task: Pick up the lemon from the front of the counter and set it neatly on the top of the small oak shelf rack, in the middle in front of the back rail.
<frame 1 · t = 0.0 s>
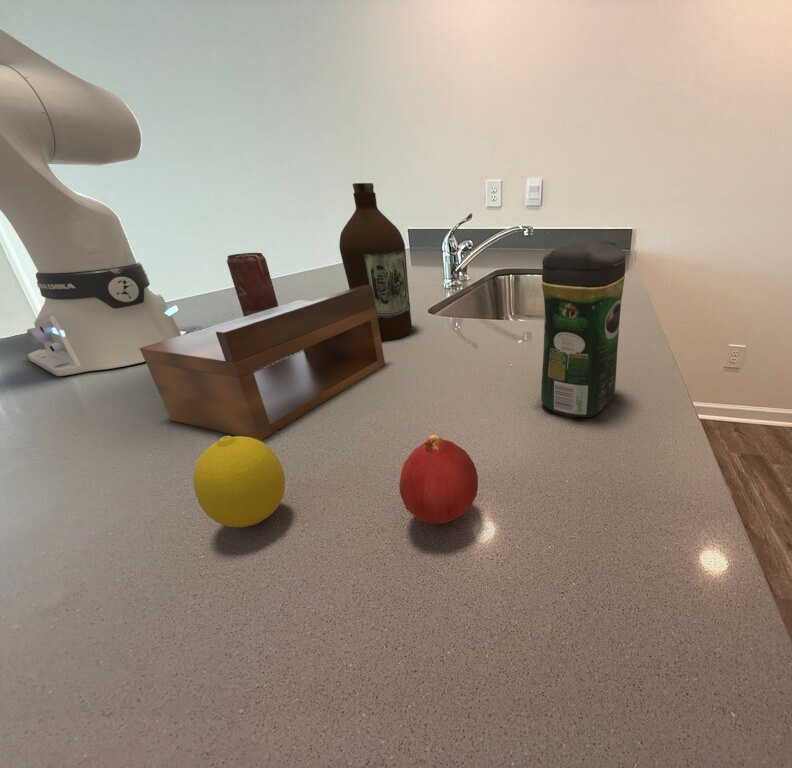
lemon: (258, 524, 32), on the countertop
coffee jar: (577, 402, 50), on the countertop
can: (267, 329, 80), on the countertop
onion: (444, 521, 32), on the countertop
olive oil: (386, 334, 76), on the countertop
shelf: (292, 388, 55), on the countertop
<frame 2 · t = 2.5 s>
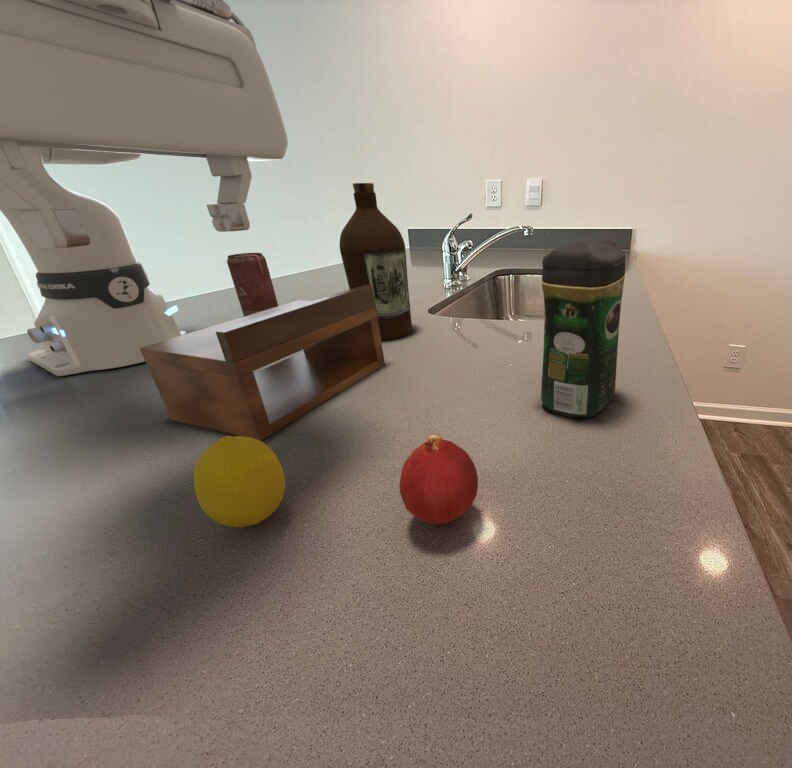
hand: (163, 237, 25), 21 cm above the countertop, tool pointing down, fingers open, 8 cm apart
nothing on the countertop moved.
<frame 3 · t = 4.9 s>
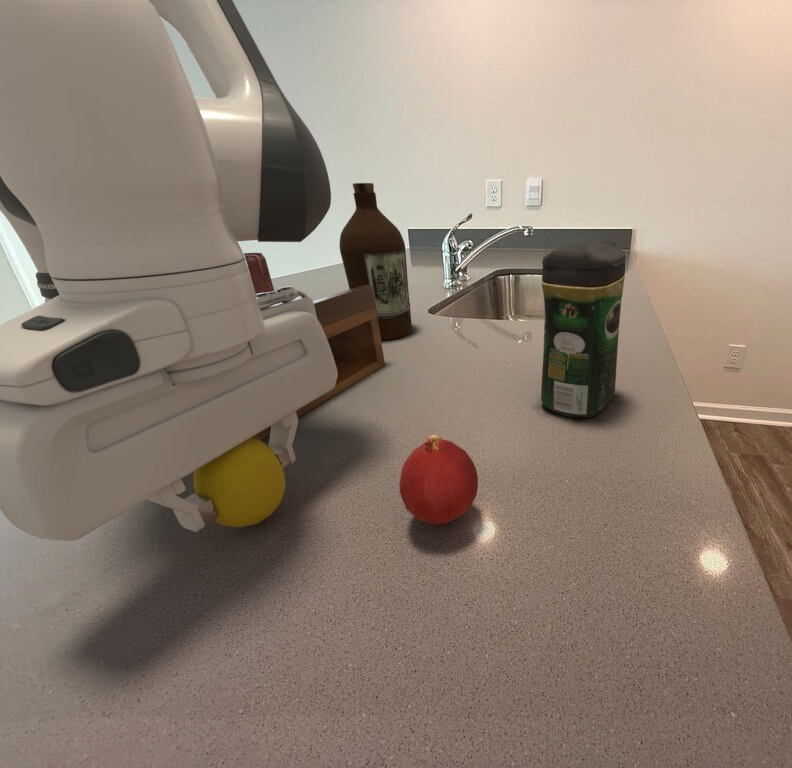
hand: (244, 491, 31), 3 cm above the countertop, tool pointing down, fingers closed on lemon, 5 cm apart
lemon: (258, 524, 32), on the countertop, touching gripper
everything else where it was.
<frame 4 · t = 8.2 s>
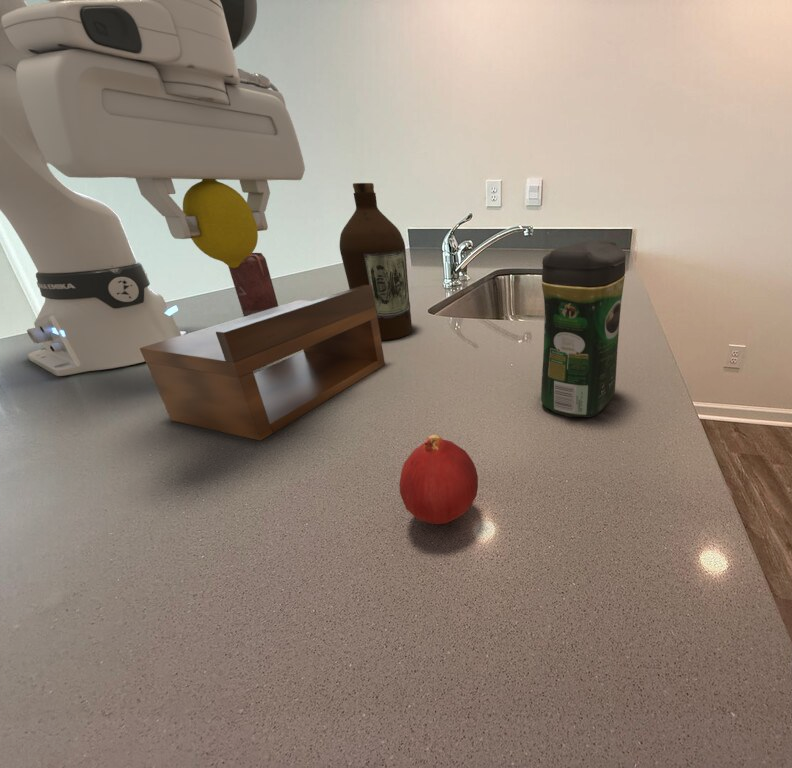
hand: (224, 234, 38), 20 cm above the countertop, tool pointing down, fingers closed on lemon, 5 cm apart
lemon: (235, 270, 40), point 17 cm above the countertop, touching gripper
everything else where it was.
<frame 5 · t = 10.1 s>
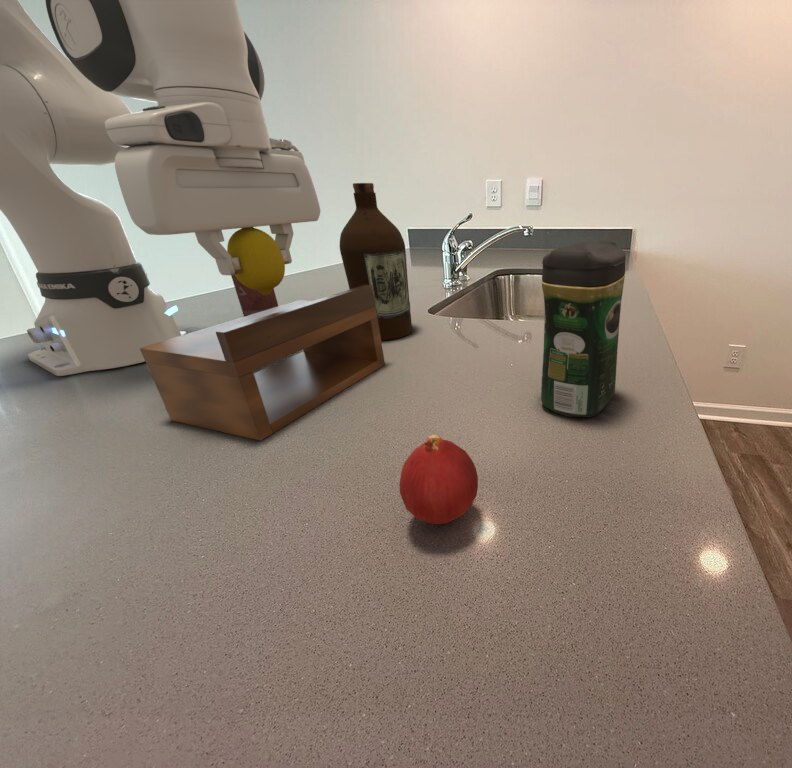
hand: (258, 269, 48), 16 cm above the countertop, tool pointing down, fingers closed on lemon, 5 cm apart
lemon: (267, 296, 49), point 12 cm above the countertop, touching gripper
everything else where it was.
when the fingers open (12 cm above the countertop, at t = 11.6 s): lemon stays where it is, resting on shelf.
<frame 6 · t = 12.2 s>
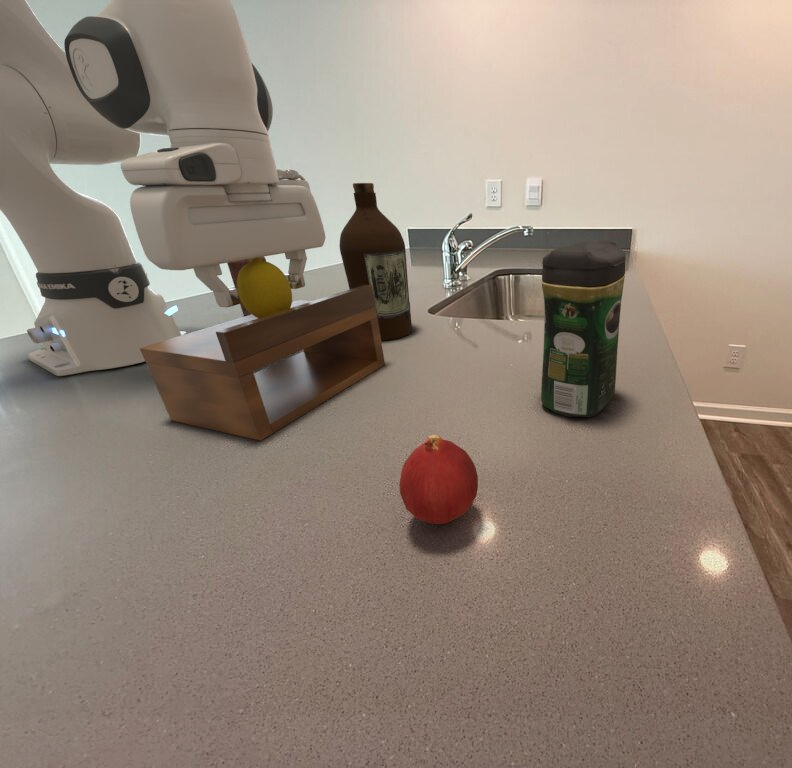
hand: (265, 296, 49), 13 cm above the countertop, tool pointing down, fingers open, 8 cm apart
lemon: (275, 325, 51), point 9 cm above the countertop, touching shelf
everything else where it was.
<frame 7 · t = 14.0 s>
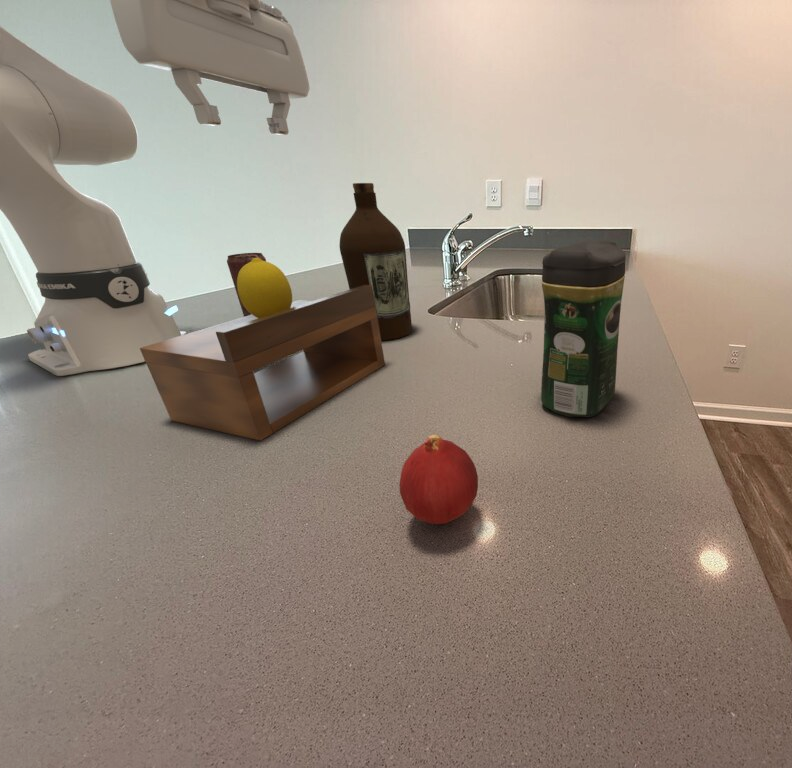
hand: (247, 129, 49), 31 cm above the countertop, tool pointing down, fingers open, 8 cm apart
nothing on the countertop moved.
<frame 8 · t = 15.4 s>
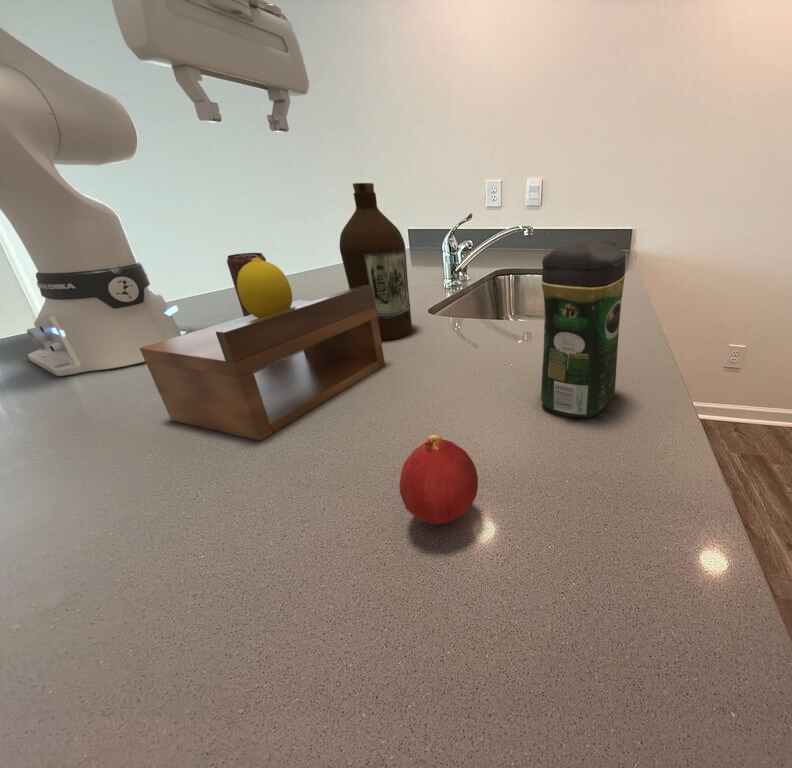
hand: (248, 127, 49), 31 cm above the countertop, tool pointing down, fingers open, 8 cm apart
nothing on the countertop moved.
at the end: lemon inside the target area on the shelf (0.3 cm from its centre), point 8.8 cm above the shelf's base; the gripper is holding nothing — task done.
